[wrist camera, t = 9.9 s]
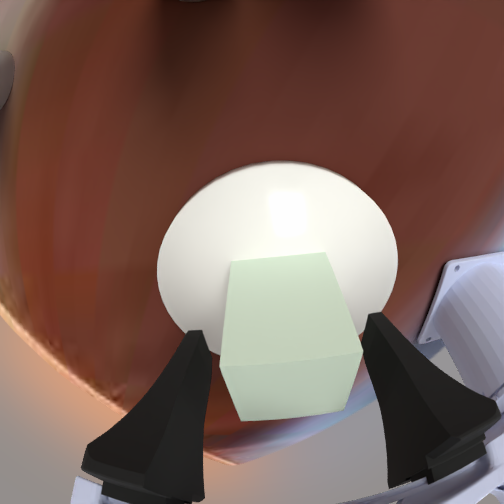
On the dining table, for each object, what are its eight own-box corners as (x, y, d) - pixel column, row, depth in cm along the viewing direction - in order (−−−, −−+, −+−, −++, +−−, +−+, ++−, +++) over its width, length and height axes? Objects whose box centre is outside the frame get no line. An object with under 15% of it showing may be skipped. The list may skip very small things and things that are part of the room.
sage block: (325, 251, 13) (363, 351, 8) (322, 318, 15) (343, 410, 10) (231, 261, 13) (219, 366, 8) (244, 326, 15) (241, 420, 10)
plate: (400, 157, 11) (412, 163, 10) (370, 339, 18) (374, 351, 17) (135, 180, 12) (125, 188, 11) (194, 355, 19) (192, 368, 18)
